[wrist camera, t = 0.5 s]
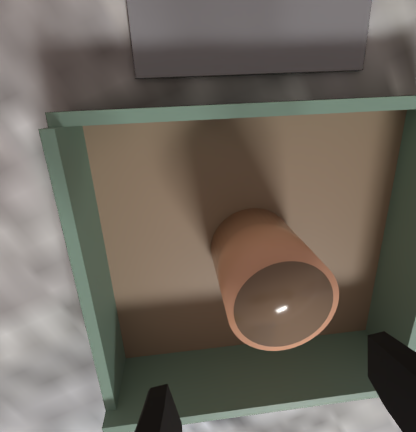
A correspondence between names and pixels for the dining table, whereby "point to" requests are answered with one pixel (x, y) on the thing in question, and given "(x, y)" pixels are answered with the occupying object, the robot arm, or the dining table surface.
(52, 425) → the dining table surface
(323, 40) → the mat
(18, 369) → the dining table surface
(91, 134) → the green shallow tray
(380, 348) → the robot arm
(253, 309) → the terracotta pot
